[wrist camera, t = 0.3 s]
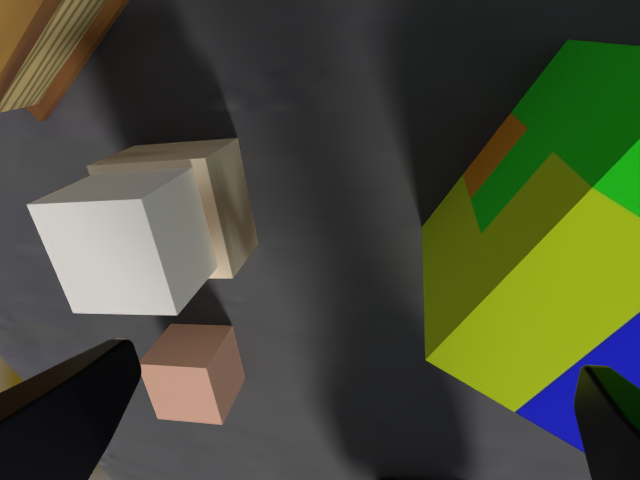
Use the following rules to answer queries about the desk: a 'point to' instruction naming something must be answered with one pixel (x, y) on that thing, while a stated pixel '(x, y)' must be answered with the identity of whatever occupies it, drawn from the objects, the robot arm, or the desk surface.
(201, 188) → the tower base
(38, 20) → the diary
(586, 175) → the puzzle toy
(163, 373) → the cube
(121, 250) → the tower top
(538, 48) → the desk surface
